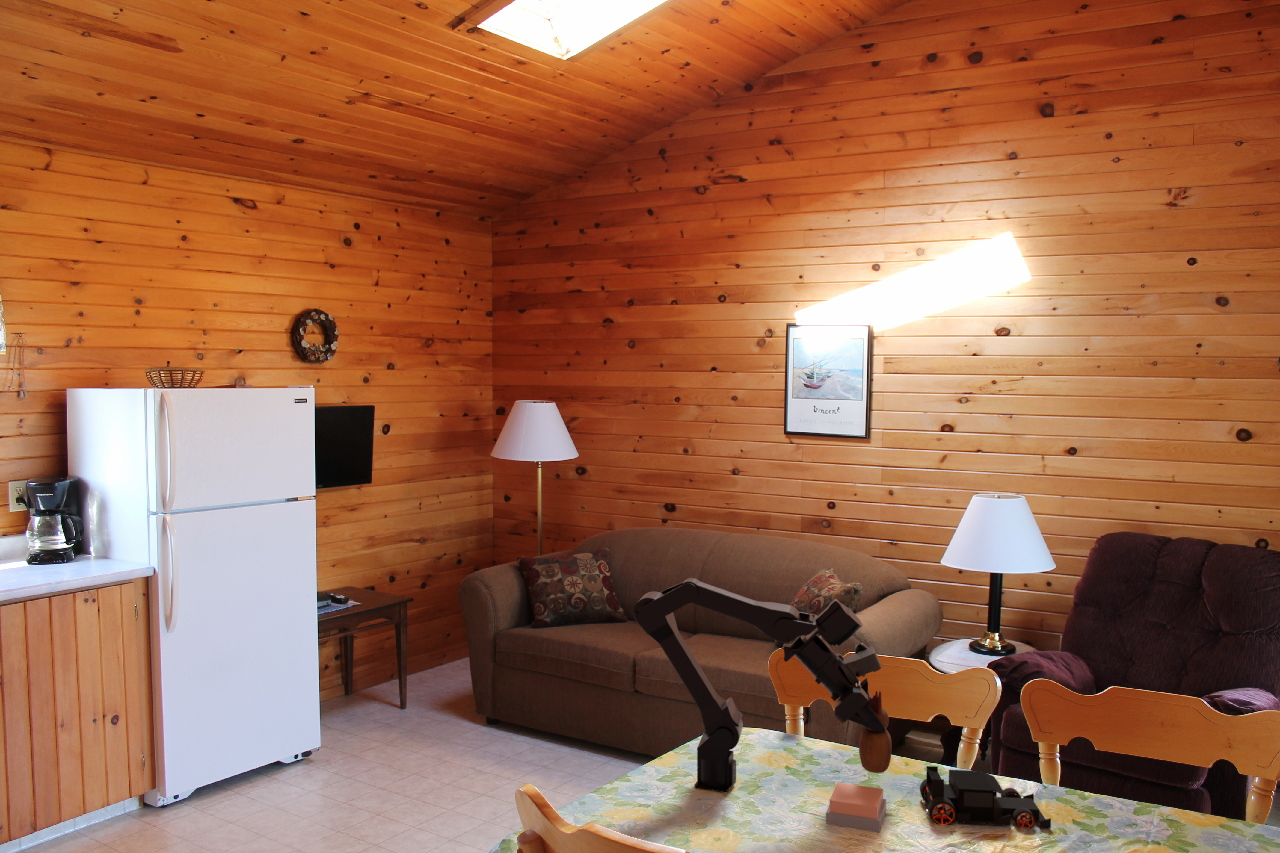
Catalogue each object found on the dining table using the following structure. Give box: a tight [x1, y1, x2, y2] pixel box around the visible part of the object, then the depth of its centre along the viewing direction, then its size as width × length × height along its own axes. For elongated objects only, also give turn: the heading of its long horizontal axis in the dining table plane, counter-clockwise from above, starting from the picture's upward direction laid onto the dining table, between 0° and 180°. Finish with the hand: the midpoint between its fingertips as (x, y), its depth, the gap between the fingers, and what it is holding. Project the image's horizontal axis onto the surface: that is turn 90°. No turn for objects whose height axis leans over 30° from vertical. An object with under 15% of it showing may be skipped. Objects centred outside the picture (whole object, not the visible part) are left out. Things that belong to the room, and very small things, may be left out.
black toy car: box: [919, 765, 1052, 829], centre depth 169 cm, size 10×20×7 cm, turn 83°
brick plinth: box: [825, 781, 887, 833], centre depth 168 cm, size 9×9×4 cm
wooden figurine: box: [858, 690, 893, 774], centre depth 175 cm, size 7×6×15 cm
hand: (883, 726), depth 175 cm, fingers closed on wooden figurine, 5 cm apart
